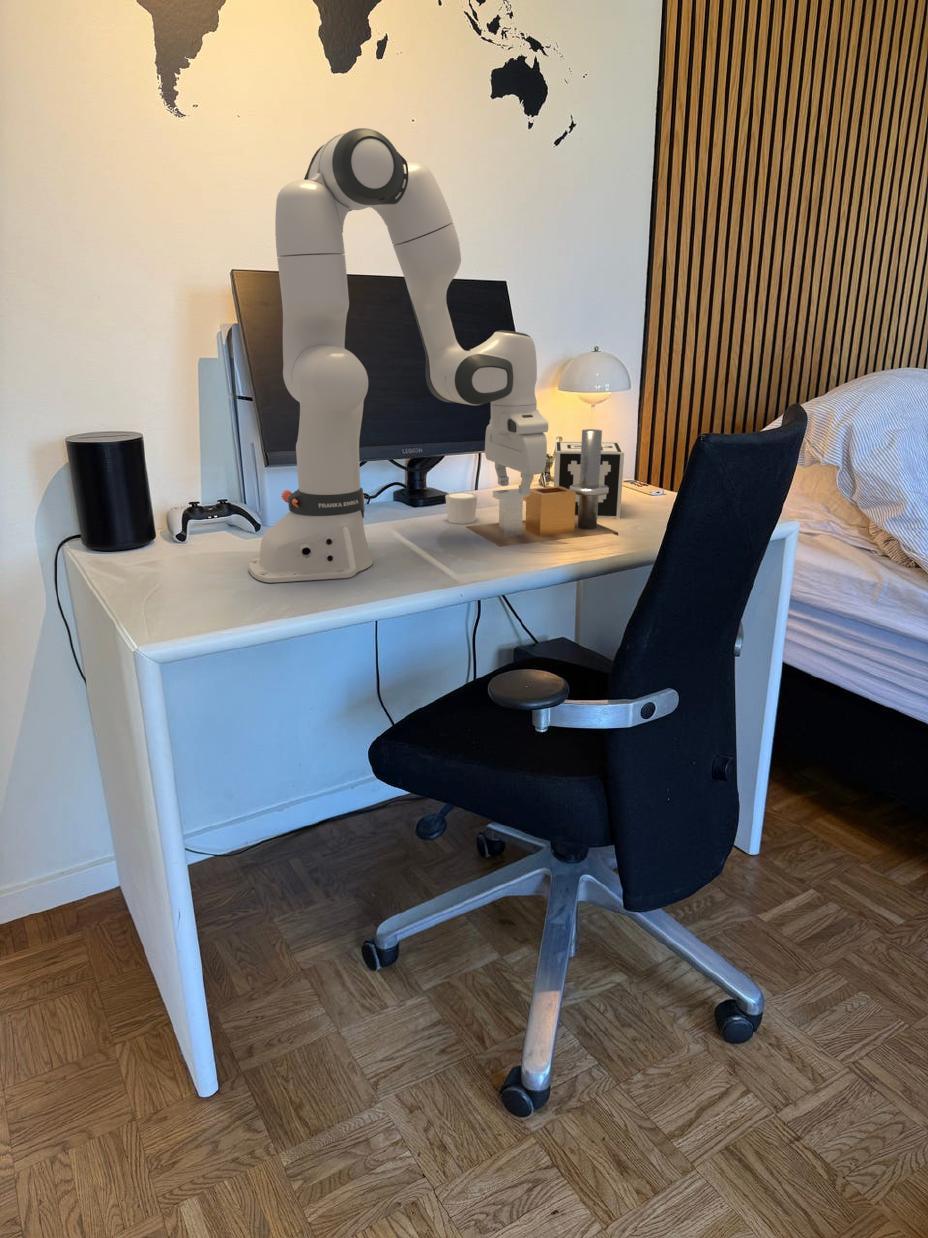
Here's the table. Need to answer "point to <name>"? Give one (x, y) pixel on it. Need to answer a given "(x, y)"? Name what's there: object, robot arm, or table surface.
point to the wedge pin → (510, 512)
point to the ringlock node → (569, 495)
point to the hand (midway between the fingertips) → (513, 489)
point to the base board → (527, 537)
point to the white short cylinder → (461, 507)
